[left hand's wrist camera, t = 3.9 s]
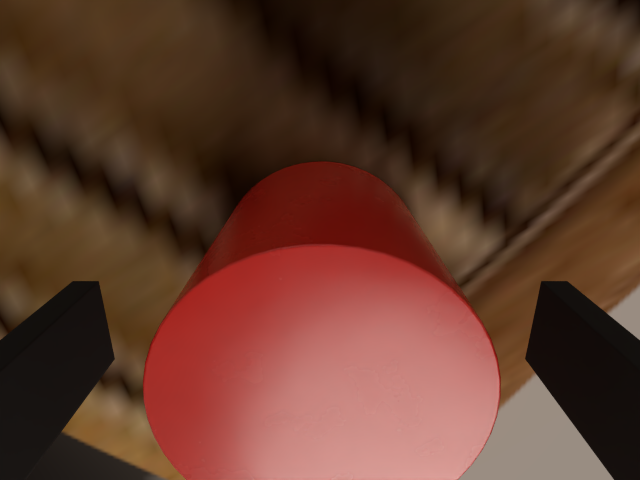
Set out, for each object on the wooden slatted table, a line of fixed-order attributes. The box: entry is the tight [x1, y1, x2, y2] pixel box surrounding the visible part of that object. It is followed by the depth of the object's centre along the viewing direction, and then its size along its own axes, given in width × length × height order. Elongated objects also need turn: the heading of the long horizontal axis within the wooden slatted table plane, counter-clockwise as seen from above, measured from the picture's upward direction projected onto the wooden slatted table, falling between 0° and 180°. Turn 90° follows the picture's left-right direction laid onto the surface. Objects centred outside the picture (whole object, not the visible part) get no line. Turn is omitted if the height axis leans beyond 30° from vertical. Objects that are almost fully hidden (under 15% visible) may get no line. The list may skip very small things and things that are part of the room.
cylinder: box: [143, 162, 501, 480], centre depth 13 cm, size 8×8×8 cm
